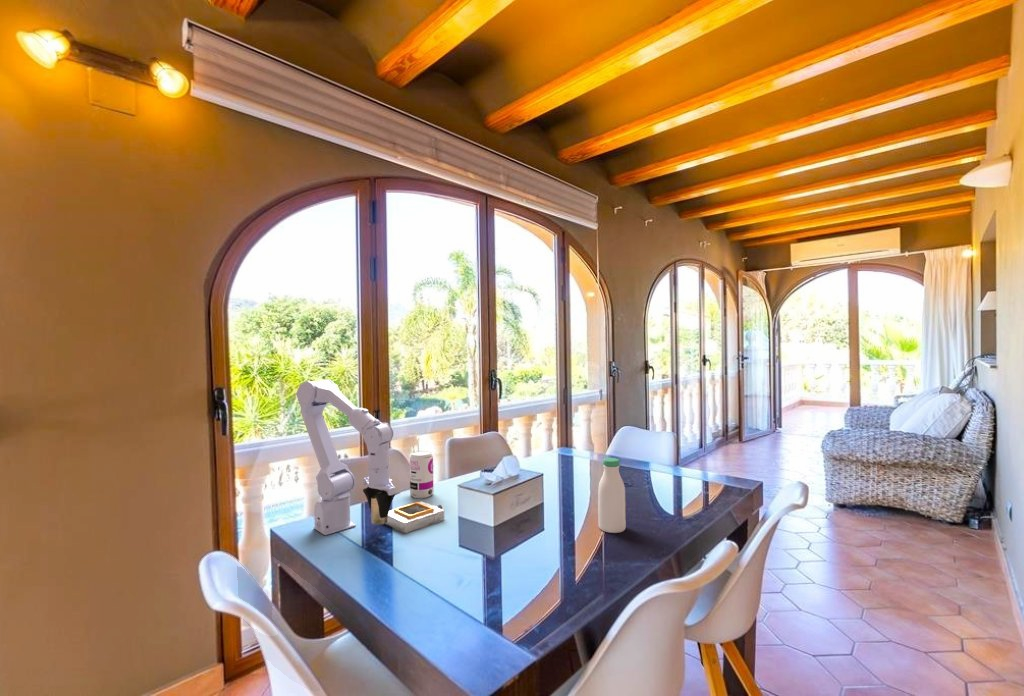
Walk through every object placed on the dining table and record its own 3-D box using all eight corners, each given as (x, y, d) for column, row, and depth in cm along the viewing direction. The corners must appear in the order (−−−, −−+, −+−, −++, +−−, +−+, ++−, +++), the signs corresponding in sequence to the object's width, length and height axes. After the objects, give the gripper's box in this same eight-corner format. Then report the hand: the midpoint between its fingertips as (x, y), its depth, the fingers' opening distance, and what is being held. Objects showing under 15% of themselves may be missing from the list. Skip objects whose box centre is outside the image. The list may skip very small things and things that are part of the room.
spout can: (376, 526, 129) (376, 497, 129) (368, 521, 132) (368, 493, 132) (395, 520, 133) (395, 492, 133) (387, 516, 137) (387, 488, 136)
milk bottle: (626, 534, 130) (625, 463, 130) (598, 532, 131) (597, 462, 131) (625, 524, 137) (624, 456, 137) (598, 522, 139) (597, 455, 139)
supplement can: (436, 491, 170) (435, 450, 170) (429, 499, 162) (429, 456, 162) (414, 491, 171) (413, 450, 171) (407, 498, 162) (406, 455, 162)
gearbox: (404, 533, 132) (404, 520, 132) (382, 522, 141) (382, 510, 141) (452, 517, 144) (452, 505, 144) (429, 508, 153) (429, 496, 153)
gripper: (405, 468, 130) (405, 517, 130) (378, 460, 140) (379, 505, 140) (382, 474, 125) (383, 524, 125) (356, 464, 135) (357, 511, 135)
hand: (379, 514), depth 132 cm, fingers closed on spout can, 4 cm apart
